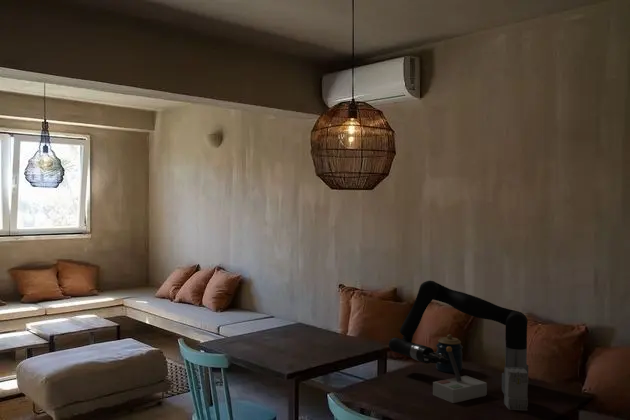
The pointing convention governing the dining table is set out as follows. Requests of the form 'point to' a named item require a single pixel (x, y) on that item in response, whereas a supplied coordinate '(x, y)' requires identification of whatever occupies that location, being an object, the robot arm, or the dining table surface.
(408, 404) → the dining table surface
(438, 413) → the dining table surface
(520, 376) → the circuit breaker
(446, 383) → the box
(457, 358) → the canister
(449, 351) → the breaker lever
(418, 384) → the dining table surface
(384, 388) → the dining table surface
